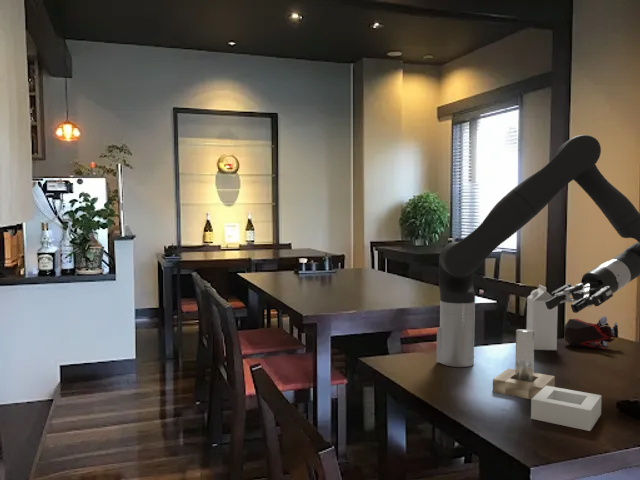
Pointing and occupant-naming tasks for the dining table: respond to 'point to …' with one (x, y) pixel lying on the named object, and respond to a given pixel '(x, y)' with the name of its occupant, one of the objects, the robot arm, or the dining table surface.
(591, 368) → the dining table surface
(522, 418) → the dining table surface
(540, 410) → the grey socket
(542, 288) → the milk carton
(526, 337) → the steel peg
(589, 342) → the toy
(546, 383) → the maple socket
